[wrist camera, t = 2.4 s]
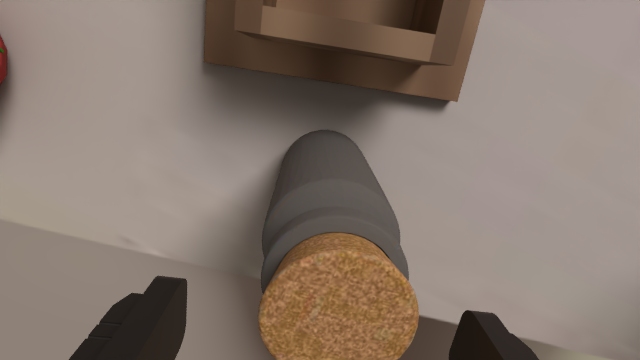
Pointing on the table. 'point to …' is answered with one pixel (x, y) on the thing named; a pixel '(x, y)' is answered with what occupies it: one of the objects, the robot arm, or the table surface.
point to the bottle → (333, 259)
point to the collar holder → (349, 41)
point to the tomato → (3, 60)
